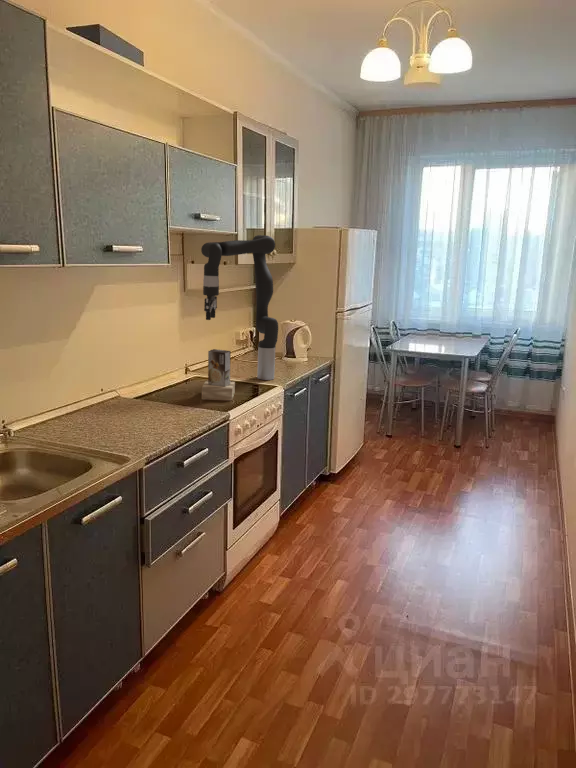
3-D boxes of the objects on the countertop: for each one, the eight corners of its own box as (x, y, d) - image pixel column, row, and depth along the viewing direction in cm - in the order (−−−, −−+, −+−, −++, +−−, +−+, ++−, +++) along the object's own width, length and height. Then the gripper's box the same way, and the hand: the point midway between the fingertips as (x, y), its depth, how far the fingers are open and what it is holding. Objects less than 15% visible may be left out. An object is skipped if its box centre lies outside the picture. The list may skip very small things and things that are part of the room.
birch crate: (205, 392, 275) (205, 380, 273) (234, 393, 275) (234, 381, 274) (201, 400, 261) (201, 387, 260) (231, 401, 261) (232, 388, 260)
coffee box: (230, 384, 269) (231, 350, 265) (225, 386, 263) (225, 352, 259) (213, 381, 272) (213, 348, 268) (207, 384, 266) (207, 350, 262)
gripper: (207, 283, 280) (207, 316, 284) (199, 285, 266) (199, 320, 270) (222, 284, 279) (221, 317, 283) (214, 286, 265) (214, 321, 269)
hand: (210, 318), depth 276 cm, fingers open, 8 cm apart
